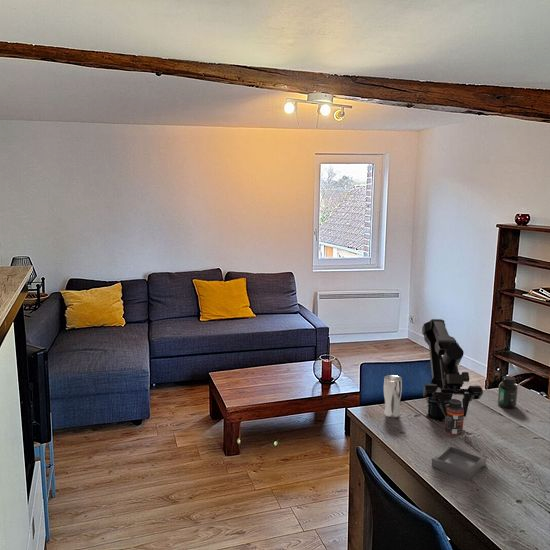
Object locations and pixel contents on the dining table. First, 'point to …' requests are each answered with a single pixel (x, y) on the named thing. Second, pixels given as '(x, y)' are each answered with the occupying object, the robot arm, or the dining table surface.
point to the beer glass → (392, 395)
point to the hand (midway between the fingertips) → (455, 416)
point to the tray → (459, 462)
